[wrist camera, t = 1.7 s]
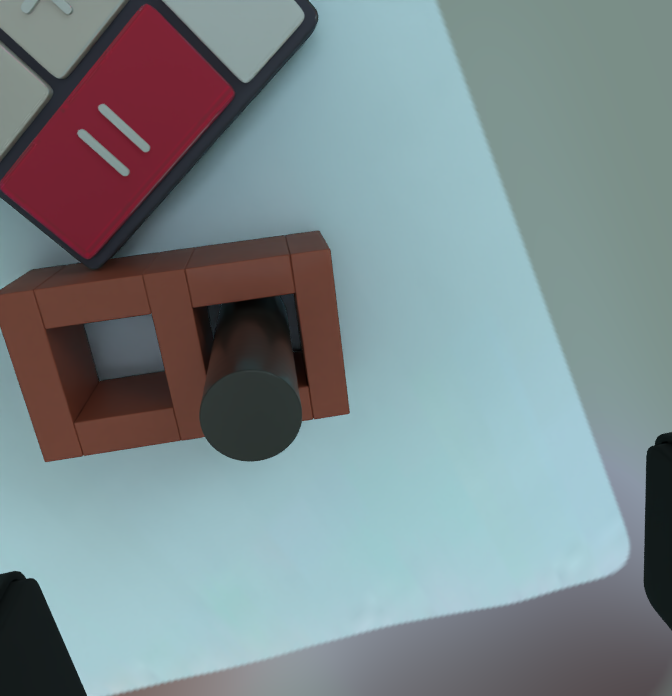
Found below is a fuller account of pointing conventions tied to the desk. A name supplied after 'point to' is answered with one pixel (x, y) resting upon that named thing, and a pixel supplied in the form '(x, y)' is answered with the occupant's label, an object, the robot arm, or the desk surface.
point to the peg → (251, 382)
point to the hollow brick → (162, 338)
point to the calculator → (125, 103)
